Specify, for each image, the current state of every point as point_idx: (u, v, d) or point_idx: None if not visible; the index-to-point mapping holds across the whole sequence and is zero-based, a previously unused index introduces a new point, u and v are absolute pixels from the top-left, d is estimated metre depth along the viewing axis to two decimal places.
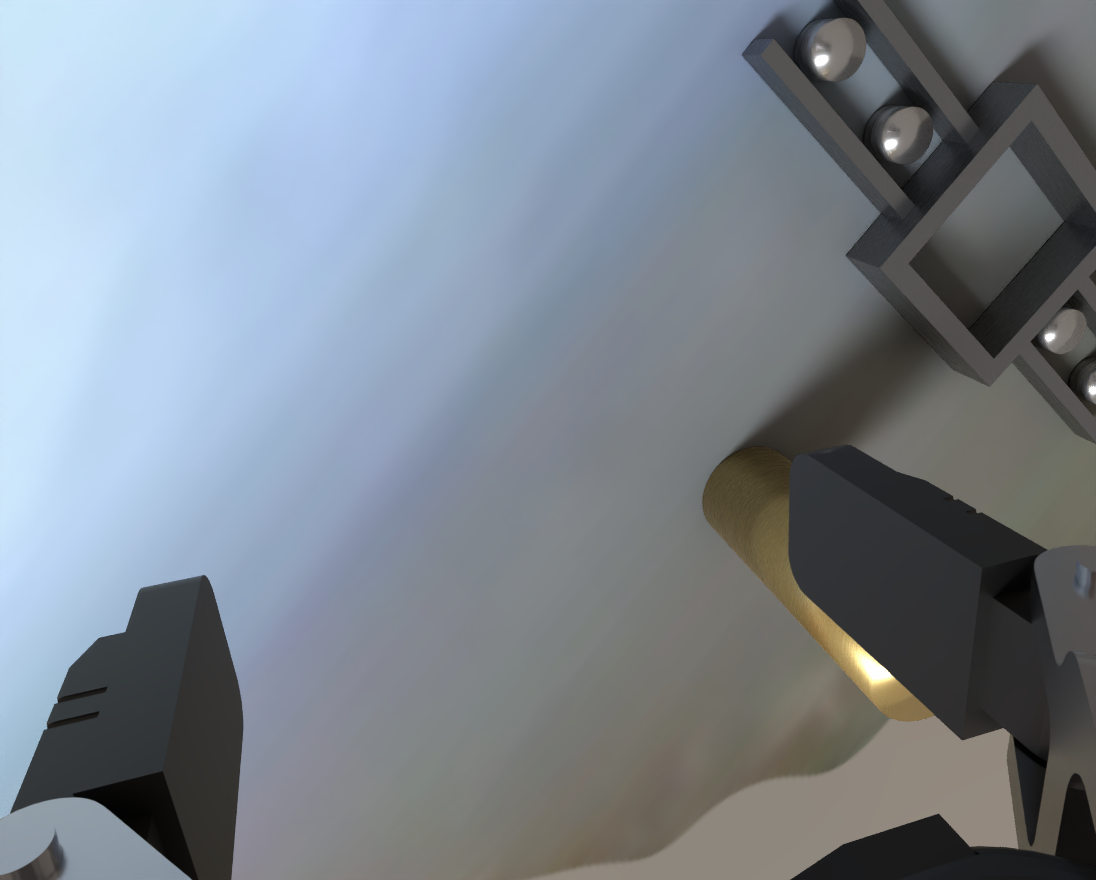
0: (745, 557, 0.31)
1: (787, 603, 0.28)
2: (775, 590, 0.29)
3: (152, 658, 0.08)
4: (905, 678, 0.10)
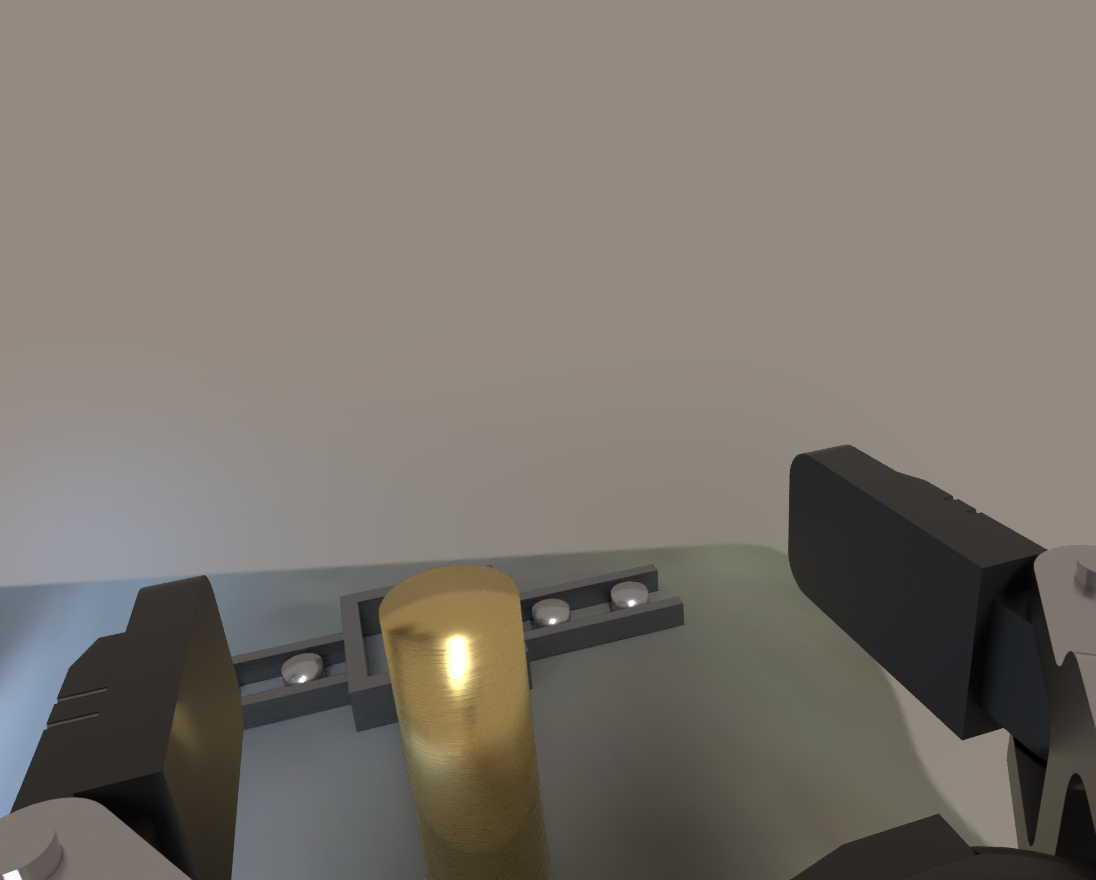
0: (455, 852, 0.26)
1: (444, 778, 0.24)
2: (448, 799, 0.25)
3: (152, 658, 0.08)
4: (905, 678, 0.10)
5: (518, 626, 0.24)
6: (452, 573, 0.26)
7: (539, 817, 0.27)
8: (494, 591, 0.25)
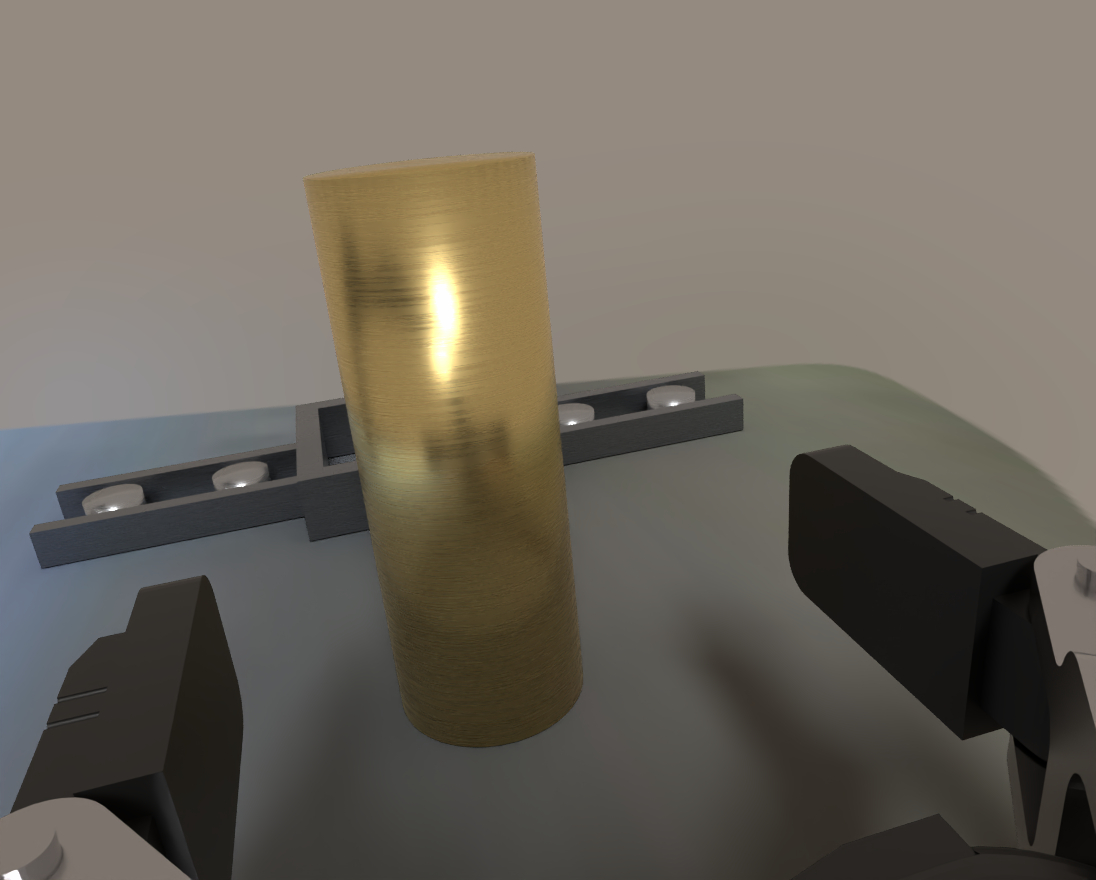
0: (436, 598, 0.16)
1: (415, 456, 0.15)
2: (422, 496, 0.15)
3: (152, 658, 0.08)
4: (905, 678, 0.10)
5: (533, 196, 0.15)
6: (426, 159, 0.16)
7: (568, 563, 0.17)
8: (493, 156, 0.15)
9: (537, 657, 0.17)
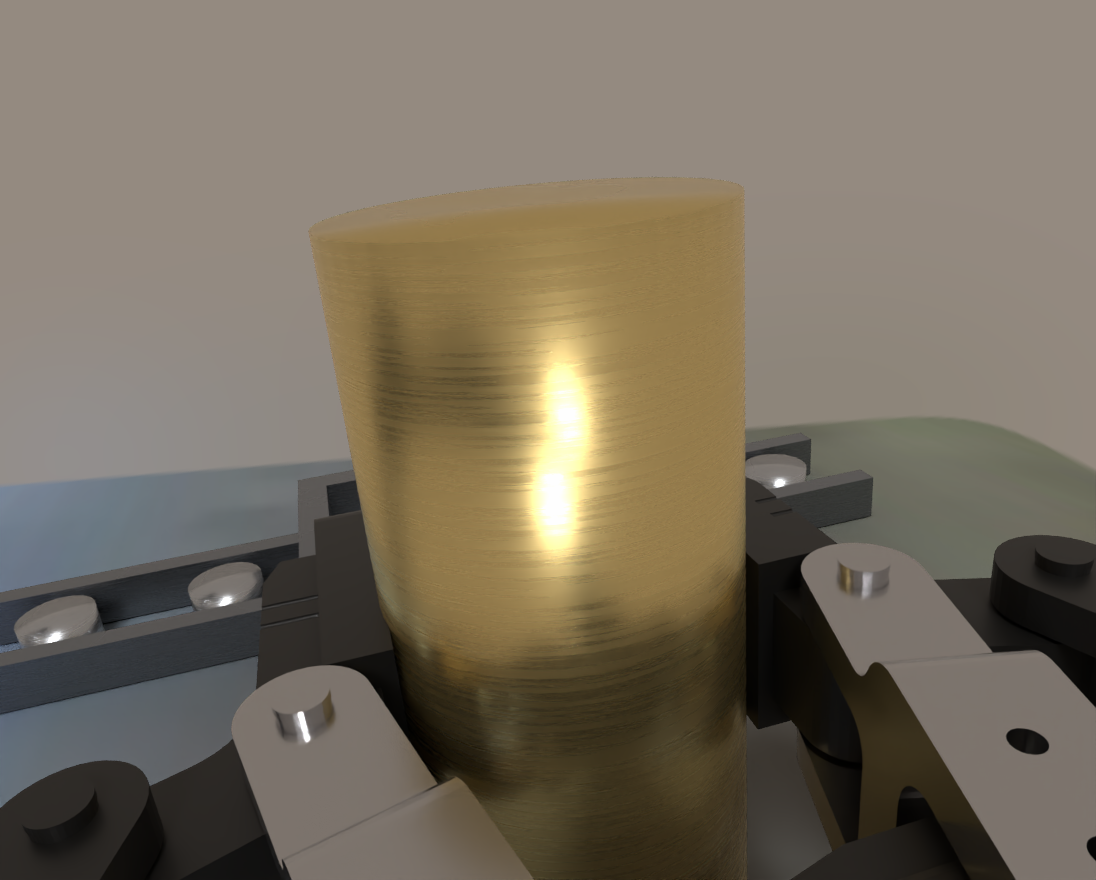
0: None
1: (516, 746, 0.08)
2: (525, 810, 0.08)
3: (348, 570, 0.10)
4: None
5: (743, 265, 0.08)
6: (521, 188, 0.09)
7: (745, 855, 0.10)
8: (654, 188, 0.08)
9: None
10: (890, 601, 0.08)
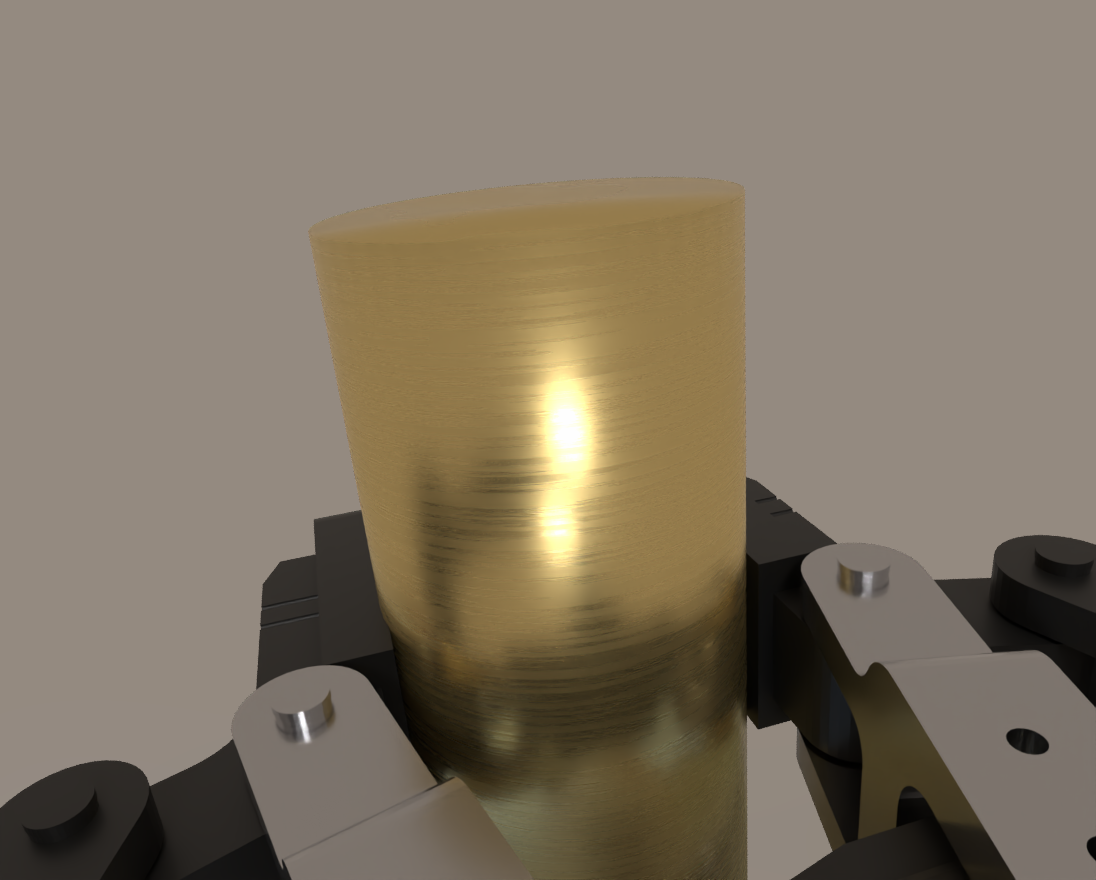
0: None
1: (517, 747, 0.08)
2: (525, 811, 0.08)
3: (348, 570, 0.10)
4: None
5: (744, 265, 0.08)
6: (522, 189, 0.09)
7: (746, 856, 0.10)
8: (656, 188, 0.08)
9: None
10: (890, 601, 0.08)
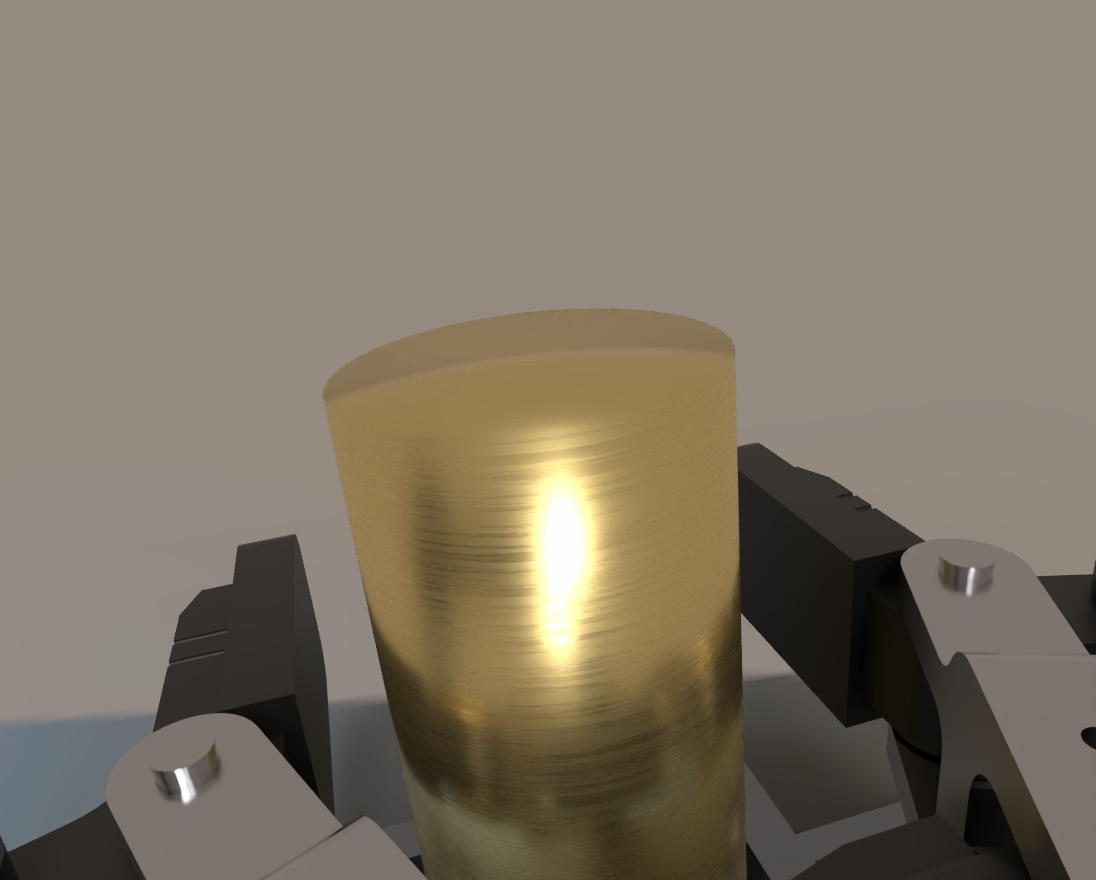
0: None
1: (526, 874, 0.08)
2: None
3: (263, 603, 0.09)
4: (799, 669, 0.11)
5: None
6: (524, 324, 0.10)
7: None
8: (651, 338, 0.09)
9: None
10: (1000, 597, 0.08)
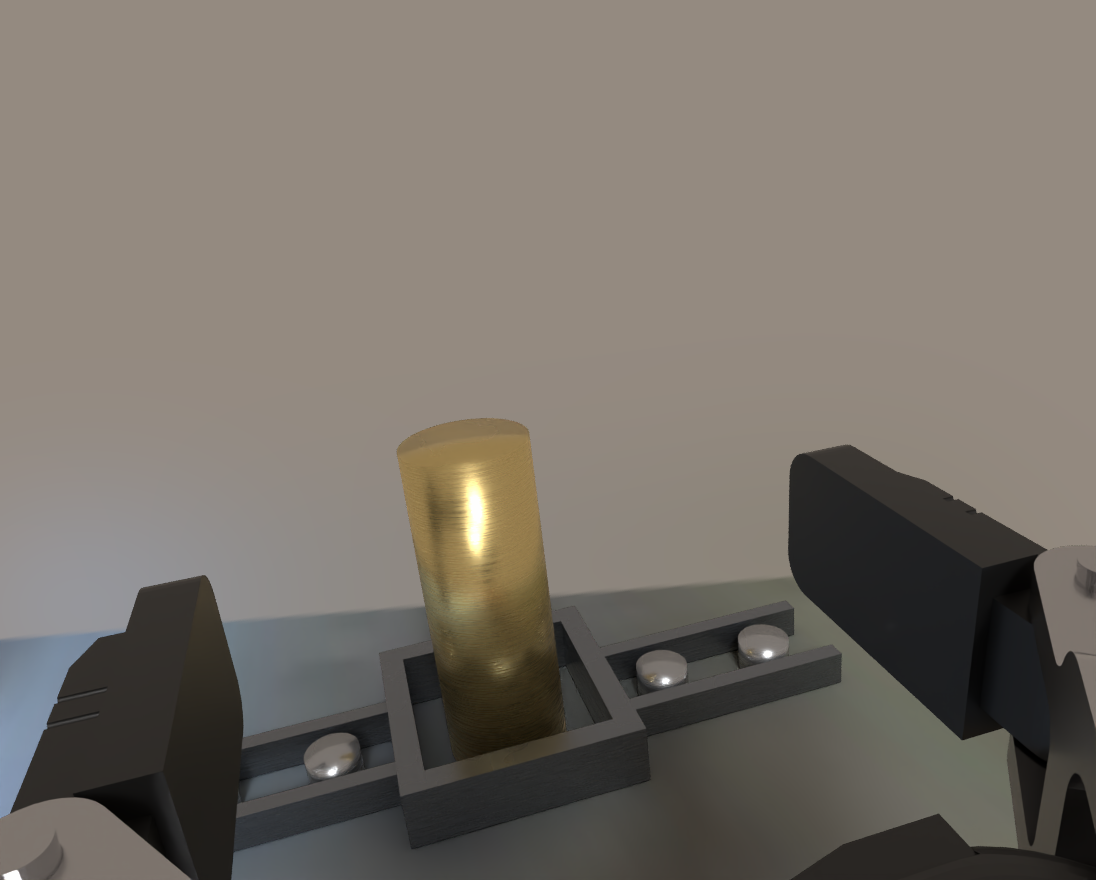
0: (474, 690, 0.27)
1: (462, 610, 0.26)
2: (466, 633, 0.26)
3: (152, 658, 0.08)
4: (905, 678, 0.10)
5: (529, 461, 0.25)
6: (465, 425, 0.27)
7: (554, 664, 0.28)
8: (505, 433, 0.26)
9: (536, 723, 0.27)
10: None
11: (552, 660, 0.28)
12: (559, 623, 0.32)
